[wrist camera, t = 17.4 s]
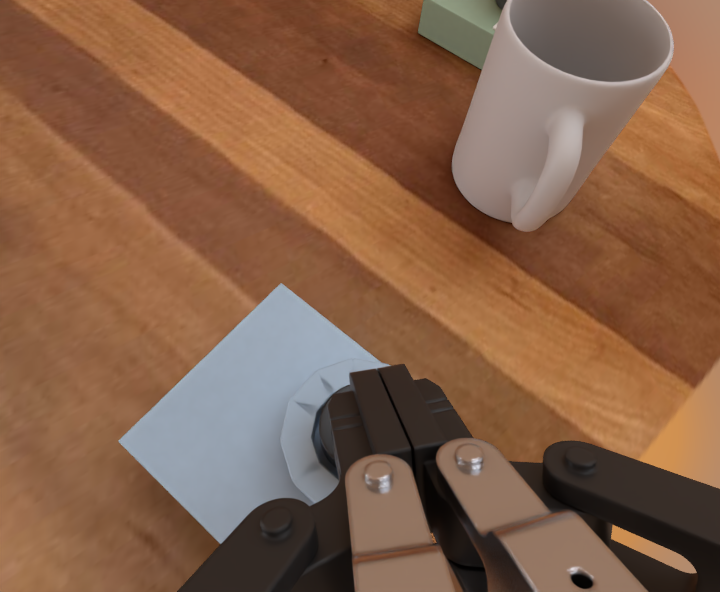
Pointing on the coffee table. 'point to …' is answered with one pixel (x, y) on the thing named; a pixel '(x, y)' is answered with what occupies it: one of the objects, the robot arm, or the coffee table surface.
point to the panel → (461, 26)
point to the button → (328, 429)
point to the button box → (251, 416)
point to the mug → (555, 101)
